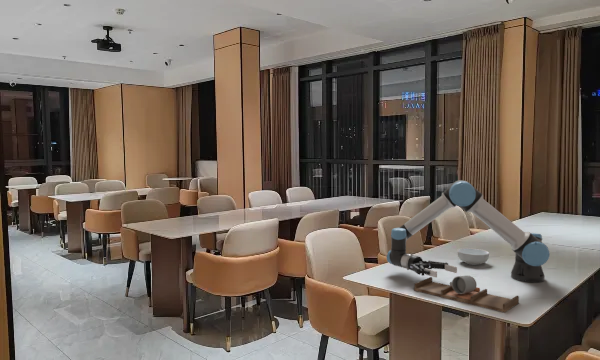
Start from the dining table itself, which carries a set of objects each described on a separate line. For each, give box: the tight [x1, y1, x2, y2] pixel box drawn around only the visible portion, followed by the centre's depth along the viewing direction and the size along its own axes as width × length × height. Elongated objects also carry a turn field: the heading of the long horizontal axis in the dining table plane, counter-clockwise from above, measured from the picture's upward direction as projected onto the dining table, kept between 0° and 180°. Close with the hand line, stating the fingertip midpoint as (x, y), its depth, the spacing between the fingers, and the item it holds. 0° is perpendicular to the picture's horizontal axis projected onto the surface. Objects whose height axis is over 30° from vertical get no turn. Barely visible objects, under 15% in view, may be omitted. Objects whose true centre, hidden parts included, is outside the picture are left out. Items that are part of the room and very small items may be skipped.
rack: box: [413, 276, 520, 313], centre depth 199 cm, size 41×16×3 cm, turn 45°
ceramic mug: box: [449, 275, 478, 294], centre depth 200 cm, size 11×8×8 cm
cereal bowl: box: [457, 247, 490, 266], centre depth 257 cm, size 17×17×7 cm
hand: (446, 272), depth 207 cm, fingers open, 13 cm apart
